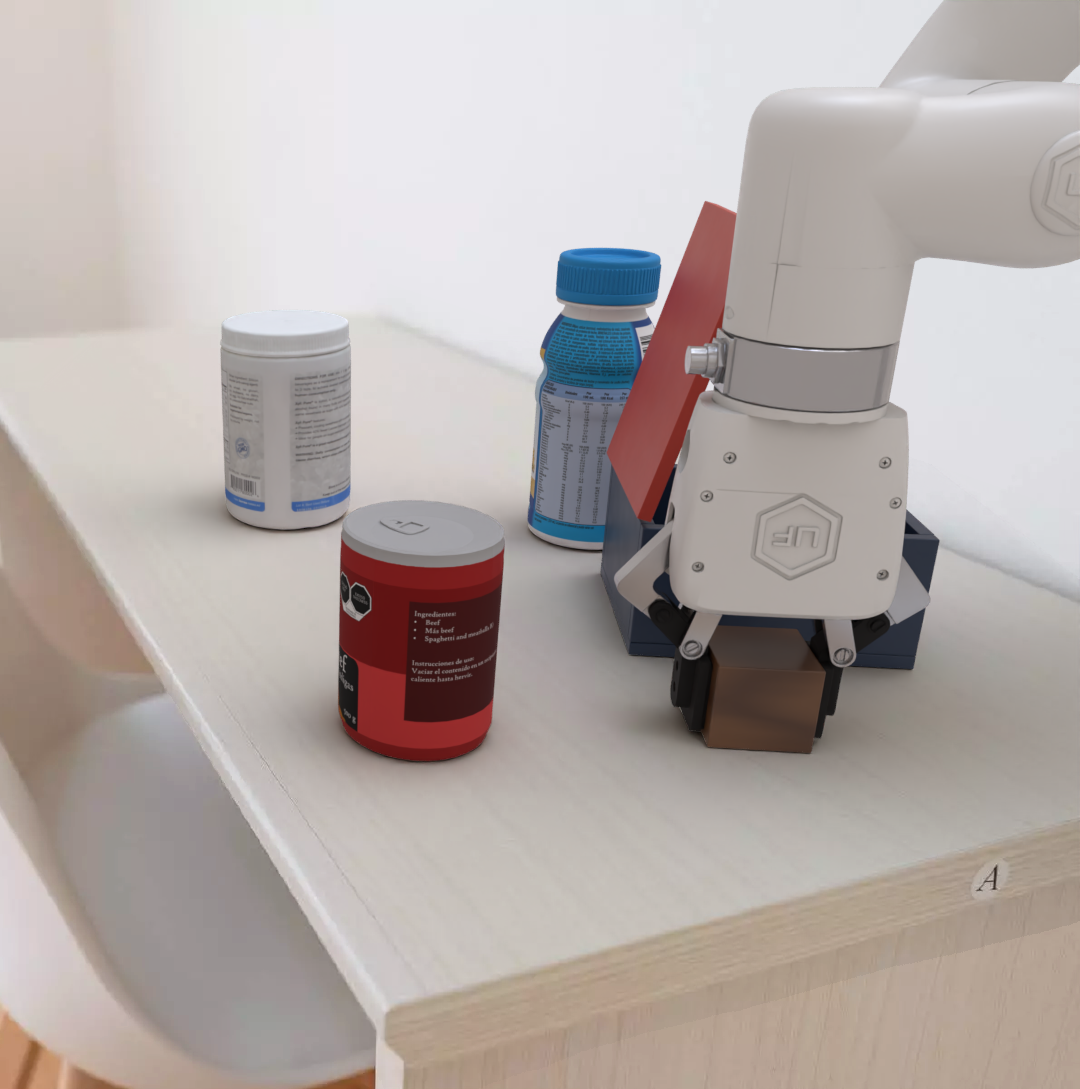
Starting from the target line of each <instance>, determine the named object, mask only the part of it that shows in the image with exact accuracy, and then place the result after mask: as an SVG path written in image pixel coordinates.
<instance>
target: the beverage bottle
mask: <svg viewBox="0 0 1080 1089" xmlns="http://www.w3.org/2000/svg"><path fill="white" fill-rule="evenodd" d="M661 262H662V260H661V256H660V255H659V254H657V253H656V252H652V251H647V250H641V249H633V248H624V247H623V248H622V247H582V248H572V249H567V250H563V251H562V252H560V254H559V258H558V261H557V269H556V281H555V285H556V286H555V296H556V301H557V302H558V303H559V304H561V305H564V307H563V309H562V310H561V311H560V312H559V314H558V315H557V316H556V318H555V319H554V320H553V322H552V323H551V325H550V326H549V328H548V329H547V331H546V333H545V335H544V337H543V340H542V341H541V344H540V349H539V358H540V359H541V362H542V364H543V369H542V371H541V373H540V374H539V376H538V378H537V380H536V382H535V388H534V399H535V417H534V429H533V445H532V446H533V447H532V457H531V458H532V460H531V473H530V474H531V475H530V488H529V498H528V499H529V502H528V508H527V517H526V522H527V526H528V529H529V531H531V532H532V534H534V535H535V536H536V537H538V538H539V539H541V540H543V541H545V542H548V543H551V544H553V545H557V546H560V547H565V548H570V549H578V550H590V551H592V550H593V551H599V550H600V551H601V550H602V551H603V541H604V531H605V521H606V512H607V502H608V492H609V483H610V473H611V461H610V459H609V457H608V455H607V450H608V448H609V445H610V442H611V440H612V437H613V435H614V432H615V430H616V427H617V424H618V422H619V419H620V417H621V414H622V412H623V409H624V407H625V404H626V401H627V399H628V396H629V394H630V391H631V389H632V386H633V383H634V381H635V378H636V376H637V373H638V371H639V368H640V366H641V363H642V360H643V358H644V355H645V353H646V350H647V348H648V345H649V343H650V340H651V337H652V335H653V332H654V330H655V327H656V326H655V325H654V323H653V321H652V319H651V318H650V316H649V315H648V313H647V309H648V308H652V307H654V306H655V305H656V303H657V302H656V301H657V299H658V296H659V290H660V280H661V273H662V263H661Z"/></svg>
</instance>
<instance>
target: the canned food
mask: <svg viewBox="0 0 1080 1089" xmlns="http://www.w3.org/2000/svg"><path fill="white" fill-rule="evenodd" d="M505 546H506V540H505V529H504V526H503V525H502V524H501V523H500V522H499V521H498V520H497V519H495V518H494V517H492V516H490V515H488V514H487V513H484V512H481V511H480V510H477V509H473V508H471V507H467V506H464V505H459V504H455V503H449V502H444V501H435V500H424V499H423V500H418V499H417V500H416V499H405V500H390V501H380V502H377V503H373V504H368V505H365V506H362V507H359V508H357V509H355V510H353V511H350V512H349V513H348V514H347V515H346V516H345V517H344V519H343V521H342V529H341V532H340V553H339V607H338V608H339V610H338V611H339V614H338V618H339V619H338V673H337V674H338V679H337V680H338V682H337V684H338V685H337V709H338V715H339V717H340V720H341V723H342V726H343V728H344V730H345V732H346V734H347V735H348V736H349V737H350V738H351V739H352V740H353V741H355V742H356V743H357V744H359V745H361V747H364V748H366V749H368V750H370V751H371V752H374V753H377V754H379V755H382V756H385V757H389V758H393V759H398V760H404V761H411V762H412V761H413V762H436V761H445V760H449V759H455V758H458V757H461V756H464V755H466V754H468V753H470V752H472V751H473V750H475V749H477V748H478V747H479V746H481V744H482V743H483V742H484V741H485V738H486V736H487V734H488V732H489V730H490V727H491V725H492V722H493V709H494V698H495V697H494V696H495V685H496V684H495V681H496V670H497V657H498V644H499V631H500V618H501V605H502V593H503V592H502V591H503V581H504V580H503V578H504V566H505Z"/></svg>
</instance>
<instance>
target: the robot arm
mask: <svg viewBox="0 0 1080 1089" xmlns="http://www.w3.org/2000/svg"><path fill="white" fill-rule="evenodd" d="M1079 66H1080V0H943V1H942V2H941V3H940V4H939V5H938V6H937V8H936V9H935V10H934V11H933V13H932V14H931V15H930V16H929V18H928V19H927V21H926V22H925V23H924V24H923V25H922V27H921V28H920V30H919V31H918V32H917V34H916V35H915V37H914V38H913V39H912V40H911V42H910V43H909V44H908V46H907V47H906V49H905V50H904V51H903V53H902V54H901V55H900V56H899V58H898V59H897V61H896V62H895V63H894V64H893V66H892V67H891V69H890V70H889V72H888V73H887V74H886V76H885V78H884V79H883V80H882V82H881V83H880V84H879V86H878V87H877V86H875V87H874V86H873V87H872V86H812V87H811V86H810V87H794V88H788V89H782V90H779V91H776V92H773V93H770V94H769V95H768V96H766V97H765V98H763V99H762V100H761V101H760V102H759V104H758V105H757V106H756V107H755V109H754V111H753V112H752V114H751V118H750V120H749V123H748V128H747V134H746V139H745V145H744V154H743V161H742V168H741V175H740V185H739V193H738V201H737V208H736V213H737V215H736V223H735V231H734V239H733V247H732V254H731V262H730V270H729V277H728V285H727V293H726V300H725V308H724V316H723V323H722V328H717V335H716V338H713V341H712V343H705V344H704V346H688V347H687V350H686V355H685V372H686V374H700V375H701V376H702V377H703V378H709V379H710V382H711V384H712V385H713V390H705V391H704V392H702V393H701V394H700V395H699V397H698V400H697V402H696V405H695V408H694V410H693V413H692V416H691V419H690V422H689V425H688V428H687V431H686V435H685V438H684V442H683V445H682V448H681V451H680V453H679V455H678V459H677V464H678V465H677V469H676V473H675V477H674V481H673V486H672V490H671V495H670V499H669V504H668V510H667V515H666V520H665V526H664V527H663V528H662V529H661V530H660V531H659V532H658V533H657V534H656V535H655V536H654V537H653V538H652V539H651V540H650V541H649V542H648V543H647V544H646V545H645V546H644V547H643V548H642V549H641V550H639V551H638V552H637V553H636V554H635V555H634V556H633V557H632V558H631V559H630V560H629V561H628V562H627V563H626V564H625V565H624V566H623V567H622V568H621V569H620V570H619V571H618V572H617V573H616V574H615V576H614V581H615V584H616V587H617V590H618V592H619V593H620V594H621V595H622V596H623V597H624V598H625V599H627V600H628V601H629V602H630V603H631V604H633V605H634V606H635V607H636V608H637V609H639V610H640V611H641V612H643V613H644V614H645V615H647V616H648V617H649V618H650V619H651V620H652V622H653V623H654V624H655V625H656V626H657V627H658V628H659V629H660V631H661V632H662V633H663V634H664V635H665V636H666V637H667V638H668V639H669V640H670V641H671V642H672V643H673V644H674V645H675V646H676V649H675V657H673V664H672V672H671V680H670V689H669V697H670V702H671V705H672V707H673V708H679V709H680V711H681V714H682V716H683V719H684V721H685V724H686V727H687V729H688V731H689V732H699V733H701V729H704V725H705V718H706V711H707V704H708V697H709V690H710V683H711V676H712V669H713V665H712V661H711V659H710V657H709V655H708V649H709V645H708V644H709V642H710V640H711V638H712V636H713V633H714V631H715V629H716V627H717V625H718V623H719V621H720V619H721V617H722V615H723V614H725V615H742V616H762V617H783V618H806V619H812V625H813V632H814V636H813V637H811V640H810V641H805V642H806V643H807V645H808V646H809V648H810V649H811V651H812V652H813V654H814V655H815V657H816V658H817V660H818V661H819V663H820V664H821V666H822V667H823V669H824V670H825V672H826V675H825V680H824V686H823V692H822V697H821V703H820V708H819V714H818V719H817V725H816V731H815V736H814V739H821V738H822V737H823V734H824V727H825V722H826V716H829V717H833V716H834V715H835V713H836V709H837V704H838V698H839V694H840V686H841V682H842V676H843V672H844V668H847V667H850V666H849V665H851V664H852V663H853V662H854V661H855V659H856V653H858V652H859V651H861V650H862V649H863V648H865V647H866V646H868V645H869V644H871V643H872V642H873V641H875V640H876V639H878V638H879V637H881V636H882V635H883V634H885V633H886V632H887V631H888V630H889V628H890V626H891V625H893V624H895V623H896V624H898V623H900V622H901V621H903V620H905V619H907V618H908V617H910V616H912V615H914V614H915V613H917V612H919V611H921V610H922V609H924V608H927V607H928V606H929V605H930V603H931V595H930V593H929V594H928V592H927V591H926V589H925V588H924V587H923V585H922V584H921V582H920V581H919V579H918V578H917V576H916V575H915V573H914V572H913V571H912V569H911V568H910V566H909V565H908V563H907V562H906V560H905V559H904V557H903V556H902V549H903V540H904V530H905V519H906V509H907V504H908V489H909V466H910V464H909V462H910V460H909V459H910V452H909V451H910V443H909V441H910V440H909V421H908V411H907V410H905V409H904V408H902V407H901V406H899V405H896V404H895V403H893V402H891V401H890V397H891V391H892V387H893V381H894V376H895V370H896V365H897V359H898V354H899V348H900V344H901V343H900V342H901V336H902V332H903V326H904V322H905V315H906V310H907V304H908V300H909V295H910V291H911V290H910V289H911V284H912V279H913V275H914V269H915V263H916V262H917V261H919V260H921V259H927V258H928V259H929V258H930V259H938V260H939V259H941V260H950V261H960V262H968V263H975V264H980V265H981V264H982V265H989V266H996V267H1002V268H1009V269H1043V268H1050V267H1056V266H1061V265H1065V264H1070V263H1072V262H1075V261H1078V260H1080V83H1076V82H1075V83H1073V82H1066V81H1065V82H1064V80H1066V78H1067V77H1068V76H1070V74H1071V73H1072V72H1074V71H1075V70H1076V68H1078V67H1079ZM664 571H665V572H666V573H667V574H669V575H670V584H671V588H672V591H673V593H674V594H675V596H676V598H677V599H678V601H679V602H680V604H679V606H677V605H676V604H675V603H674V602H673V601H672V600H671V599H670V598H669V597H668V596H667V595H666V594H665V593H663V592H661V591H660V590H658V589H657V588H656V586H654V585H653V583H654V581H655V580H656V579H657V578H658V577H659V576H660V575H661V574H662V573H663V572H664ZM880 575H881V577H880Z"/></svg>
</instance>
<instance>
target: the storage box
mask: <svg viewBox="0 0 1080 1089" xmlns="http://www.w3.org/2000/svg"><path fill="white" fill-rule="evenodd" d="M677 465H678V463H675V465H674V467H673V470H672V472H671V475H670V477H669V479H668V482H667V484H666V487H665V489H664V492H663V494H662V496H661V499H660V501H659V504H658V506H657V508H656V511H655V513H654V516H653V518H652V520H651V522H648V521H645V520H641V519H638V518H637V517H636V515H635V512H634V510H633V508H632V506H631V504H630V502H629V500H628V498H627V495H626V493H625V491H624V489H623V487H622V485H621V483H620V481H619V478H618V476H617V474H616V472H615V470H614V468H613V466H612V464H611V473H610V483H609V492H608V502H607V512H606V521H605V531H604V541H603V550H602V553H601V560H600V561H601V562H600V568H599V569H600V570H599V574H600V577H601V578H602V582H603V585H604V587H605V590H606V593H607V596H608V599H609V601H610V602H609V603H610V605H611V607H612V610H613V613H614V617H615V619H616V622H617V625H618V628H619V632H620V633H621V637H622V639H623V642H624V645H625V649H626V651H627V654H628V655H629V656H645V657H647V656H648V657H663V658H665V657H668V658H674V657H675V649H676V646H675V645H674V644H673V643H672V642H671V641H670V640H669V639H668V638H667V637H666V636H665V635H664V634H663V633H662V632H661V631H660V629H659V628H658V627H657V626H656V625H655V624H654V623H653V622H652V620H651V619H650V618H649V617H648V616H647V615H645V614H644V613H643V612H641V611H640V610H639V609H637V608H636V607H635V606H634V605H633V604H631V603H630V602H629V601H628V600H627V599H625V598H624V597H623V596H622V595H621V594H620V593H619V592H618V590H617V587H616V584H615V581H614V576H615V574H616V573H617V572H618V571H619V570H620V569H621V568H622V567H623V566H624V565H625V564H626V563H627V562H628V561H629V560H630V559H631V558H632V557H633V556H634V555H635V554H636V553H637V552H638V551H639V550H641V549H642V548H643V547H644V546H645V545H646V544H647V543H648V542H649V541H650V540H651V539H652V538H653V537H654V536H655V535H656V534H657V533H658V532H659V531H660V530H661V529H662V528H663V527H664V526H665V520H666V515H667V510H668V504H669V499H670V495H671V490H672V486H673V481H674V477H675V473H676V469H677ZM940 541H941V540H940V539H939V538H938V537H937V536H936V535H935V533H933V532H932V531H931V530H930V529H929V528H928V527H927V526H926V525H924V524H923V523H922V522H921V520H919V519H918V518H917V517H916V516H915V515H913V513H911V512H910V511H909V510H908V509H907V508H906V519H905V530H904V540H903V549H902V556H903V557H904V559H905V560H906V562H907V563H908V565H909V566H910V568H911V569H912V571H913V572H914V573H915V575H916V576H917V578H918V579H919V581H920V582H921V584H922V585H923V587H924V588H925V589H926V591H927V592H928V594H929V595H930V589H931V584H932V579H933V575H934V570H935V566H936V560H937V556H938V551H939V546H940ZM880 577H881V575H880ZM653 585H654V586H656V588H657V589H658V590H660V591H661V592H663V593H665V594H666V595H667V596H668V597H669V598H670V599H671V600H672V601H673V602H674V603H675V604H676V605H677V606H679V604H680V602H679V601H678V599H677V598H676V596H675V594H674V593H673V591H672V588H671V584H670V575H669V574H667V573H666V572H665V571H664V572H663V573H662V574H661V575H660V576H659V577H658V578H657V579H656V580H655V581H654V583H653ZM926 608H927V607H926ZM926 608H924V609H922V610H921V611H919V612H917V613H915V614H914V615H912V616H910V617H908V618H907V619H905V620H903V621H901V622H900V623H898V624H896V623H895V624H893V625H891V626H890V628H889V630H888V631H887V632H886V633H885V634H883V635H882V636H881V637H879V638H878V639H876V640H875V641H873V642H872V643H871V644H869V645H868V646H866V647H865V648H863V649H862V650H861V651H859V652H858V653H856V659H855V661H854V662H853V663H852V664H851V665H849V666H848V667H860V668H861V667H864V668H882V669H883V668H884V669H900V670H902V669H903V670H913V669H914V668H915V663H916V662H915V661H916V658H917V657H916V656H917V653H918V652H917V651H918V648H919V642H920V637H921V633H922V628H923V623H924V618H925V613H926ZM718 625H721V626H743V627H764V628H785V629H797V630H798V631H799V633H800V634H801V636H802V637H803V639H804V640H805V641H810V640H811V637H813V636H814V632H813V625H812V619H806V618H783V617H762V616H742V615H725V614H723V615H722V617H721V619H720V621H719V623H718Z"/></svg>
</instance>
